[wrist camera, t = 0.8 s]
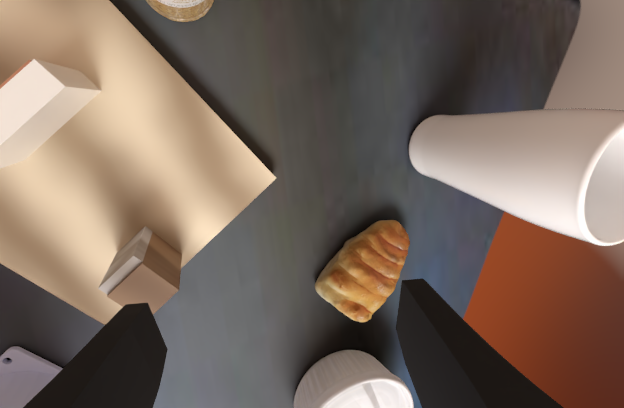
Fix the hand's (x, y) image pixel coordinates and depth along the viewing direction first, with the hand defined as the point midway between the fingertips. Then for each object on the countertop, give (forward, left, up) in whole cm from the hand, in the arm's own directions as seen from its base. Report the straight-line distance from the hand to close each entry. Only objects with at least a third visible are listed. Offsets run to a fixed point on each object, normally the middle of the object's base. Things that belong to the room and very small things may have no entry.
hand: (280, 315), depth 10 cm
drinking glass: (+15, -10, -17) cm, 25 cm away
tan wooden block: (-7, 0, -15) cm, 17 cm away
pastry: (+3, -14, -17) cm, 22 cm away
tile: (-4, +10, -15) cm, 19 cm away
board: (-5, +8, -17) cm, 19 cm away
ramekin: (-7, -23, -17) cm, 29 cm away
